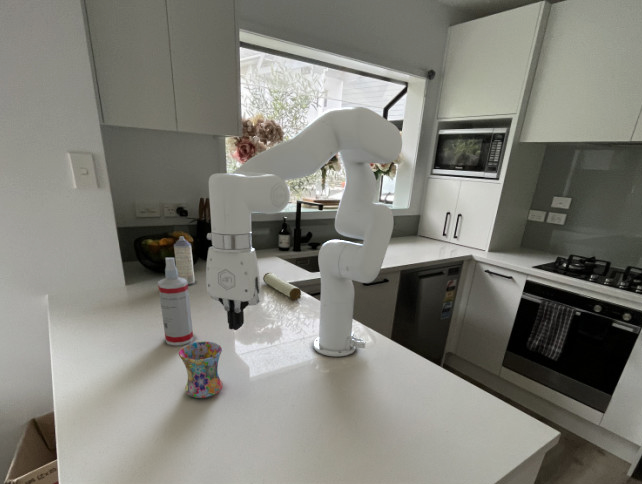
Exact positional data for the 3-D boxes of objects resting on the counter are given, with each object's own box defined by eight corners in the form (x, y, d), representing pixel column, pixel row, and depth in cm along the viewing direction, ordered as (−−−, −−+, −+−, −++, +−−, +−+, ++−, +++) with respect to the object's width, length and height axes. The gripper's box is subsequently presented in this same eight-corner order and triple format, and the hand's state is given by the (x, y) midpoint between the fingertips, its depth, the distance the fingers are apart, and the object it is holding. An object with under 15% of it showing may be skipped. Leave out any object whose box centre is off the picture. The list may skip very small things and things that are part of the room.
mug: (229, 395, 87) (226, 355, 83) (187, 405, 83) (182, 363, 79) (216, 371, 97) (213, 334, 93) (178, 379, 93) (173, 341, 89)
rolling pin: (259, 282, 170) (259, 271, 168) (271, 280, 172) (270, 269, 170) (293, 304, 145) (293, 291, 143) (306, 302, 148) (306, 289, 146)
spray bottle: (164, 346, 109) (152, 261, 99) (167, 335, 115) (156, 255, 106) (193, 344, 111) (184, 260, 101) (193, 333, 117) (185, 254, 108)
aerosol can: (197, 281, 167) (192, 235, 160) (190, 285, 161) (186, 238, 153) (182, 280, 168) (177, 234, 160) (175, 284, 162) (169, 237, 154)
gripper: (187, 240, 72) (195, 328, 79) (258, 248, 68) (260, 340, 75) (209, 235, 79) (214, 316, 86) (275, 241, 75) (275, 326, 82)
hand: (236, 327), depth 80 cm, fingers closed
